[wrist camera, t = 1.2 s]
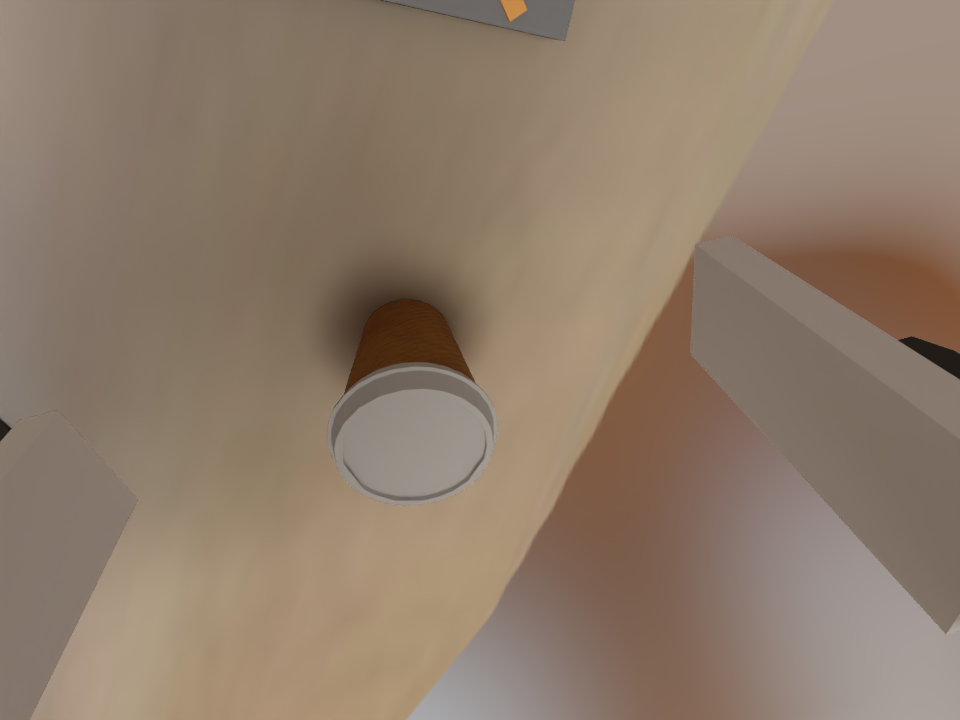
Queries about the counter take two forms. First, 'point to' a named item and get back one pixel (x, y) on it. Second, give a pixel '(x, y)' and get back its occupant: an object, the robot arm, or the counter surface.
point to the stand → (506, 13)
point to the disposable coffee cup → (411, 411)
